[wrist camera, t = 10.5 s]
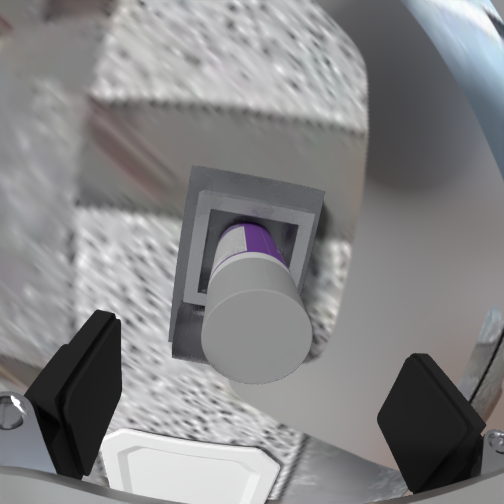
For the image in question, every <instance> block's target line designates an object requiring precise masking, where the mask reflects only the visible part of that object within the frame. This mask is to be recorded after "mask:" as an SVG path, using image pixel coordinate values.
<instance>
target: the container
mask: <svg viewBox="0 0 504 504" xmlns="http://www.w3.org/2000/svg"><path fill="white" fill-rule="evenodd" d="M312 337H313V331H312V325H311V322H310V319H309V317H308V314H307V312H306V309H305V307H304V304H303V302H302V299H301V297H300V294H299V292H298V289H297V287H296V285H295V282H294V280H293V277H292V275H291V273H290V271H289V269H288V267H287V265H286V263H285V261H284V259H283V257H282V255H281V253H280V251H279V249H278V247H277V245H276V243H275V241H274V239H273V238H272V236H271V234H270V232H269V231H268V230H267V229H266V228H265V227H264V226H263V225H261V224H260V223H257V222H255V221H250V220H242V221H237V222H235V223H233V224H231V225H229V226H228V227H227V228H226V229H225V230H224V231H223V233H222V234H221V236H220V238H219V241H218V245H217V250H216V254H215V258H214V263H213V267H212V271H211V276H210V280H209V285H208V291H207V298H206V305H205V312H204V319H203V326H202V334H201V342H202V348H203V351H204V354H205V356H206V358H207V360H208V361H209V363H210V364H211V365H212V366H213V368H215V369H216V370H217V371H218V372H219V373H220V374H222V375H223V376H225V377H227V378H229V379H231V380H234V381H237V382H241V383H245V384H265V383H270V382H273V381H277V380H279V379H281V378H284V377H285V376H287V375H289V374H290V373H292V372H293V371H294V370H295V369H297V368H298V367H299V366H300V365H301V364H302V362H303V361H304V360H305V358H306V356H307V355H308V353H309V350H310V348H311V344H312Z"/></svg>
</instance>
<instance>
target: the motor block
mask: <svg viewBox="0 0 504 504" xmlns="http://www.w3.org/2000/svg"><path fill="white" fill-rule="evenodd" d="M324 195H325V191H322V190H318V189H314V188H310V187H305V186H301V185H296V184H291V183H287V182H282V181H277V180H272V179H267V178H262V177H257V176H251V175H246V174H241V173H235V172H230V171H224V170H218V169H212V168H206V167H200V166H192V169H191V175H190V180H189V186H188V192H187V198H186V204H185V210H184V217H183V223H182V230H181V237H180V244H179V251H178V259H177V266H176V274H175V283H174V291H173V300H172V309H171V319H170V329H169V340H168V342H173V343H172V358H175V359H180V360H186V361H191V362H197V363H203V364H209V365H211V364H210V363H209V361H208V360H207V358H206V356H205V354H204V351H203V348H202V342H201V334H202V326H203V319H204V312H205V305H206V298H207V291H208V285H209V280H210V276H211V271H212V267H213V263H214V258H215V254H216V250H217V245H218V241H219V238H220V236H221V234H222V233H223V231H224V230H225V229H226V228H227V227H228V226H229V225H231V224H233V223H235V222H237V221H242V220H250V221H255V222H257V223H260V224H261V225H263V226H264V227H265V228H266V229H267V230H268V231H269V232H270V234H271V236H272V238H273V239H274V241H275V243H276V245H277V247H278V249H279V251H280V253H281V255H282V257H283V259H284V261H285V263H286V265H287V267H288V269H289V271H290V273H291V275H292V277H293V280H294V282H295V285H296V287H297V289H298V292H299V294H300V296H301V292H302V288H303V284H304V280H305V276H306V272H307V268H308V264H309V260H310V256H311V252H312V248H313V243H314V239H315V235H316V231H317V226H318V222H319V217H320V213H321V208H322V204H323V199H324Z"/></svg>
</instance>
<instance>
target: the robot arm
mask: <svg viewBox="0 0 504 504" xmlns="http://www.w3.org/2000/svg"><path fill="white" fill-rule="evenodd" d="M121 393H122V370H121V321H120V319H116V316H115V314H114V313H110V312H106V311H102V310H96V311H95V312H94V313H93V314H92V315H91V317H90V318H89V319H88V320H87V322H86V323H85V324H84V325H83V326H82V328H81V329H80V330H79V331H78V333H77V334H76V335H75V336H74V338H73V339H72V340H71V341H70V343H69V344H64V345H63V346H61V347H60V349H59V350H58V351H57V352H56V354H55V355H54V356H53V357H52V359H51V360H50V361H49V363H48V364H47V365H46V366H45V368H44V369H43V370H42V372H41V373H40V374H39V376H38V377H37V378H36V380H35V381H34V382H33V383H32V385H31V386H30V388H29V389H28V390H27V392H26V393H25V394H24V396H22V395H20V394H18V393H14V392H0V504H188V503H181V502H175V501H169V500H163V499H157V498H152V497H147V496H142V495H137V494H133V493H128V492H124V491H120V490H116V489H112V488H108V487H105V486H100V485H96V484H92V483H89V482H85V481H81V480H82V477H83V475H85V476H89V474H90V472H91V470H92V467H93V465H94V462H95V459H96V457H97V454H98V451H99V449H100V446H101V444H102V441H103V439H104V436H105V434H106V431H107V429H108V426H109V424H110V421H111V419H112V416H113V414H114V411H115V409H116V406H117V404H118V402H119V399H120V397H121ZM377 422H378V425H379V427H380V429H381V431H382V433H383V435H384V437H385V439H386V442H387V443H388V445H389V448H390V450H391V452H392V454H393V456H394V459H395V460H396V463H397V465H398V467H399V469H400V471H401V474H402V476H403V478H404V480H405V482H406V485H407V487H408V489H409V490H410V491H411V492H413V495H409V496H405V497H400V498H394V499H389V500H384V501H378V502H372V503H365V504H504V432H502V431H500V430H496V429H493V430H489V431H487V432H486V433H485V434H484V436H483V437H482V436H481V434H480V433H481V432H482V431H483V429H484V428H485V427H486V424H485V422H484V421H483V420H482V419H481V417H480V416H479V415H478V413H477V412H476V411H475V410H474V408H473V407H472V406H471V405H470V403H469V402H468V401H467V400H466V398H465V397H464V396H463V395H462V394H461V392H460V391H459V390H458V389H457V387H456V386H455V385H454V384H453V383H452V381H451V380H450V379H449V378H448V377H447V375H446V374H445V373H444V372H443V371H442V370H441V368H440V367H439V366H438V365H437V364H436V362H435V361H434V360H433V359H432V358H431V357H430V356H429V355H428V354H420V353H414V354H412V355H410V357H408V358H407V359H406V360H405V362H404V364H403V367H402V369H401V371H400V373H399V375H398V377H397V379H396V381H395V383H394V385H393V387H392V389H391V391H390V393H389V395H388V397H387V399H386V400H385V402H384V404H383V406H382V408H381V410H380V411H379V413H378V416H377Z"/></svg>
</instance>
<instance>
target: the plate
mask: <svg viewBox="0 0 504 504" xmlns="http://www.w3.org/2000/svg"><path fill="white" fill-rule="evenodd" d="M101 450H102V455H103V459H104V464H105V468H106V472H107V476H108V480H109V484H110V488H112V489H116V490H120V491H124V492H128V493H133V494H137V495H142V496H147V497H152V498H157V499H163V500H169V501H175V502H181V503H188V504H265V501H266V499H267V497H268V495H269V493H270V491H271V489H272V486H273V484H274V482H275V480H276V477H277V475H278V473H279V471H280V465H279V464H278V463H277V462H276V461H275V460H273V459H272V458H271V457H270V456H268V455H267V454H266V453H265V452H263V451H262V450H261V449H258V448H253V447H241V446H230V445H221V444H212V443H204V442H197V441H190V440H184V439H178V438H172V437H167V436H162V435H156V434H151V433H147V432H142V431H138V430H133V429H129V428H121V429H119V430H117V431H115V432H112V433H110V434H108V435H106V436H104V439H103V441H102V444H101Z"/></svg>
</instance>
